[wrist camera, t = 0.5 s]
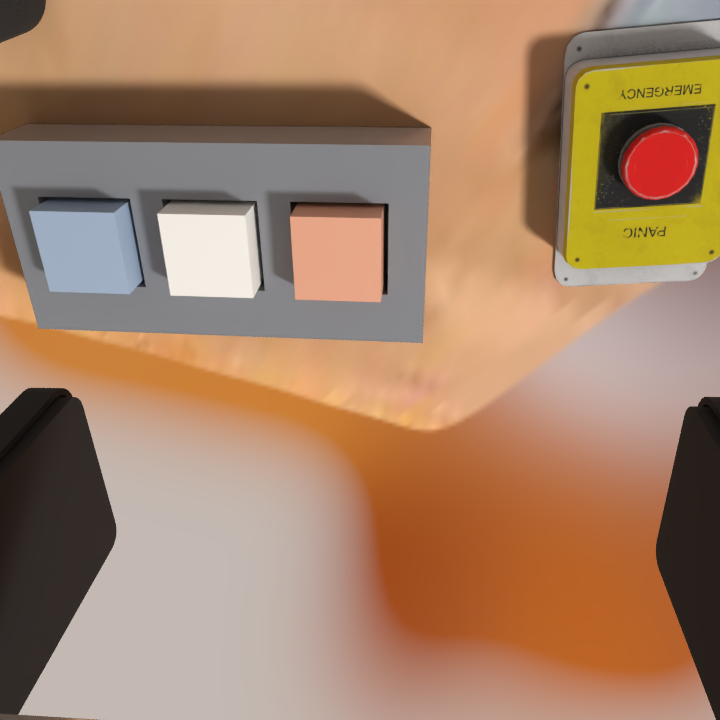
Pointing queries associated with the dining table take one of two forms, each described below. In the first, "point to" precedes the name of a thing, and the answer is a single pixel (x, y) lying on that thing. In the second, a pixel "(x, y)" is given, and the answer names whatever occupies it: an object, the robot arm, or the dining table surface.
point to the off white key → (212, 248)
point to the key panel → (237, 183)
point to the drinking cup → (19, 17)
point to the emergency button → (639, 155)
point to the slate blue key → (88, 244)
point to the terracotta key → (338, 251)
